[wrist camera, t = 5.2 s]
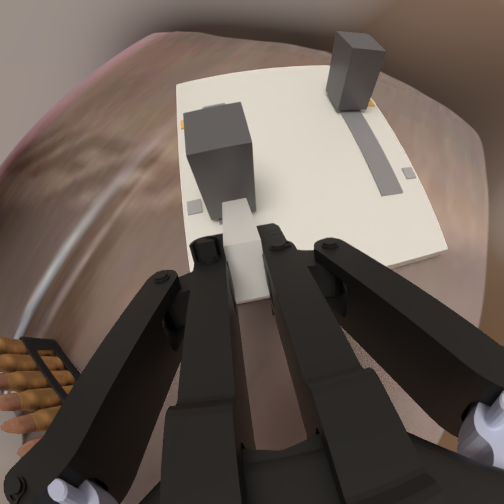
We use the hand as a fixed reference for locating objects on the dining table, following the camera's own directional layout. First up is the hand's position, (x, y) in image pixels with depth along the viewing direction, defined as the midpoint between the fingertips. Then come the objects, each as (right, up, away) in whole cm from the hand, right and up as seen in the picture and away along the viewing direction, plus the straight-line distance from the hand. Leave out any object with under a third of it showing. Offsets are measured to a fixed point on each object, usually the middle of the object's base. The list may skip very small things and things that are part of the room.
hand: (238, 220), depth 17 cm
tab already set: (+11, +14, +8) cm, 20 cm away
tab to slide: (-1, +2, +4) cm, 5 cm away
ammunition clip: (-15, -14, +2) cm, 21 cm away
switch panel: (+5, +8, +9) cm, 13 cm away
